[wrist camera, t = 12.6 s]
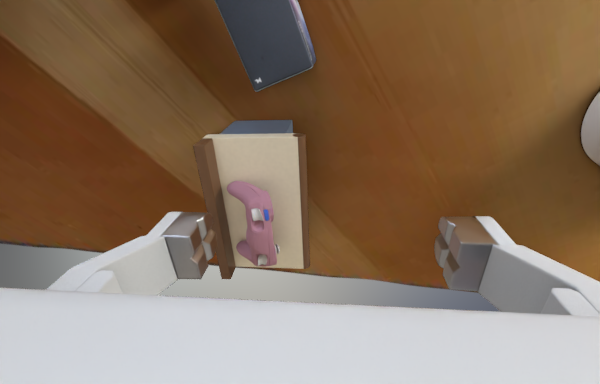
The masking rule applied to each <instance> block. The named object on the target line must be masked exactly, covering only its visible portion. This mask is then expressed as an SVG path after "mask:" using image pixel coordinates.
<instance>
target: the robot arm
mask: <svg viewBox="0 0 600 384" xmlns="http://www.w3.org/2000/svg"><path fill="white" fill-rule="evenodd" d="M581 141H582V145H583V148H584V150H585V152H586V154H587V155H588V156H589V158H590V159H591V160H593V161H594V162H595V163H597V164H598V165H599V166H600V92H599V93H598V94H597V95H596V97H595V98H594V100H593V101H592V103H591V104H590V106H589V108H588V110H587V112H586V114H585V117H584V120H583V123H582V129H581ZM212 225H213V219H212V215H211V214H210V213H197V212H168V213H167V214H166V215H165V216H164V217H163V219H162V220H161V221H160V222H159V223H158V224H157V225H156V226H155V227H154V228H153V229H152V230H151V231H150V232H149V233H148V234H147V235H146V236H141V237H138V238H136V239H134V240H132V241H130V242H127V243H125V244H123V245H121V246H118V247H116V248H114V249H112V250H110V251H107V252H105V253H103V254H101V255H99V256H96V257H94V258H92V259H90V260H87V261H85V262H83V263H81V264H78V265H76V266H75V267H72V268H70V269H69V270H68V271H67V272H66V273H64V274H63V275H62V276H61V277H60V278H59V279H58V280H56V282H54V283H53V284H52V285H51V286H50V287H48V289H46V290H36V289H14V288H0V384H600V282H599V281H596V280H594V279H592V278H590V277H588V276H586V275H584V274H582V273H580V272H577V271H575V270H573V269H571V268H569V267H567V266H565V265H563V264H561V263H558V262H556V261H554V260H552V259H550V258H548V257H546V256H544V255H541V254H539V253H537V252H535V251H533V250H531V249H529V248H527V247H525V246H522V245H516V244H515V243H514V241H513V240H512V239H511V238H510V237H509V236H508V235H507V234H506V232H505V231H504V230H503V229H502V228H501V227H500V226H499V224H498V223H497V222H496V221H495V220H494V219H493V218H492V217H490V216H473V217H441V219H440V221H439V225H438V228H439V230H440V232H441V234H440V235H438V236H437V237H436V239H435V245H434V249H435V257H436V261H437V263H438V265H439V266H441V267H442V268H443V269H444V271H443V276H444V278H445V281H446V283H447V285H448V287H449V289H452V290H467V291H478V293H479V294H480V295H482V296H483V297H484V298H485V299H486V300H488V301H489V302H490V303H491V304H492V305H494V306H495V307H496V308H497V309H498V310H500V311H501V312H493V311H473V310H451V309H431V308H410V307H389V306H368V305H347V304H327V303H306V302H284V301H265V300H243V299H223V298H203V297H181V296H161V295H158V294H160V293H161V292H163V291H164V290H165V289H167V288H168V287H169V286H171V285H172V284H173V283H175V282H176V281H177V280H178V279H201V278H202V276H203V274H204V273H205V271H206V269H207V267H208V263H207V261H208V260H210V259H211V258H213V256H214V254H215V252H216V247H217V237H216V233H215V232H214V231H213V230H212V229H211V227H212Z"/></svg>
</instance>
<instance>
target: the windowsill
mask: <svg viewBox="0 0 600 384" xmlns="http://www.w3.org/2000/svg"><path fill="white" fill-rule="evenodd" d="M193 148H194V152H195V157H196V162H197V166H198V171H199V176H200V180H201V185H202V189H203V194H204V199H205V203H206V208H207V212H208V213H210V214H211V215H212V219H213V225H212V227H211V229H212V230H213V231H214V232H215V233H216V237H217V247H216V254H217V259H218V263H219V268H220V272H221V277H222V279H231V277H232V275H233V272H234V270H235V267H236V266H239V267H260V266H255V265H254V264H253V263H252V262H251V261H249V260H248V259H246V258H245V257H243V256H242V255H240V254H239V253H238V251H237V249H236V246H237V244H238V243H239V242H240V241H245V240H246V231H247V220H246V209H245V205H244V204H243V203H242V202H241V201H240V200H239V199H237V198H235V197H234V196H232V195H231V194H229V192H228V191H227V186H228V184H230V183H231V182H234V181H243V182H247V183H250V184H252V185H254V186H256V187H258V188H260V189H261V190H263V191H267V192H268V193H269V195H270V198H271V201H272V206H273V211H274V219H273V221H272V222H271V225H272V232H273V241H274V245H275V246H276V244H278V246H279V247H280V253H279V254H278V253H277V254H276V256H277V264H275V265H272V266H267V267H270V268H301V269H306V268H308V267H309V266H310V246H309V215H308V185H307V154H306V135H305V134H303V133H293V124H292V120H258V121H234V122H233V123H232V124H231V125H229V126H228V127H227V128H226V129H225V130H224V131H222V132H221V133H220V134H207V135H206V136H205V137H203V138H202V139H201V140H199V141H198V142H197V143H196V144H194V145H193Z"/></svg>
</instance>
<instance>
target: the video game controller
mask: <svg viewBox="0 0 600 384" xmlns="http://www.w3.org/2000/svg"><path fill="white" fill-rule="evenodd" d="M227 191H228V192H229V194H231V195H232V196H234V197H235V198H237V199H239V200H240V201H241V202H242V203H243V204H244V205H245V209H246V220H247V231H246V240H245V241H240V242H239V243H238V244H237V246H236V249H237V251H238V253H239V254H240V255H242V256H243V257H245V258H246V259H248V260H249V261H251V262H252V263H253V264H254V265H255V266H260V267H267V266H272V265H275V264H277V256H276V254H277V253H278V254H279V253H280V247H279V246H278V244H276V246H275V245H274V241H273V232H272V225H271V222H272V221H273V219H274V211H273V206H272V201H271V198H270V195H269V193H268V192H267V191H263V190H261V189H260V188H258V187H256V186H254V185H252V184H250V183H247V182H243V181H234V182H231V183H230V184H228V186H227Z"/></svg>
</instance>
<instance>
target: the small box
mask: <svg viewBox="0 0 600 384" xmlns="http://www.w3.org/2000/svg"><path fill="white" fill-rule="evenodd" d="M215 2H216V4H217V7H218V9H219V11H220V14H221V16H222V18H223V20H224V23H225V25H226V27H227V30H228V32H229V34H230V36H231V39H232V41H233V43H234V45H235V47H236V49H237V52H238V54H239V57H240V59H241V61H242V63H243V66H244V68H245V70H246V72H247V75H248V77H249V79H250V81H251V84H252V86H253V88H254V90H255V91H256V92H259V91H260V90H262V89H265V88H267V87H269V86H272V85H274V84H277V83H279V82H281V81H283V80H286V79H288V78H291V77H293V76H295V75H298V74H300V73H302V72H305V71H307V70H309V69H312V67H313V65H314V63H315V62H316V57H315V53H314V49H313V45H312V42H311V39H310V36H309V33H308V30H307V27H306V24H305V21H304V18H303V15H302V12H301V9H300V6H299V3H298V0H215Z"/></svg>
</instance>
